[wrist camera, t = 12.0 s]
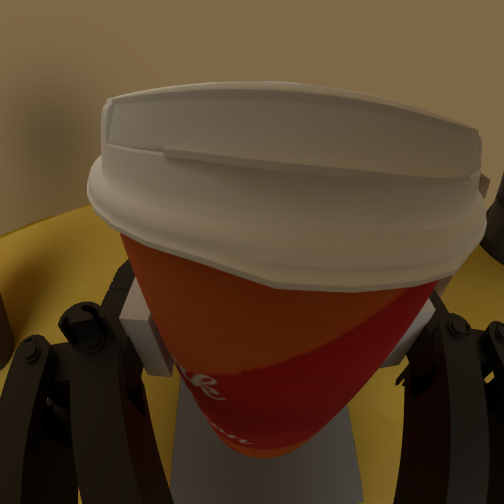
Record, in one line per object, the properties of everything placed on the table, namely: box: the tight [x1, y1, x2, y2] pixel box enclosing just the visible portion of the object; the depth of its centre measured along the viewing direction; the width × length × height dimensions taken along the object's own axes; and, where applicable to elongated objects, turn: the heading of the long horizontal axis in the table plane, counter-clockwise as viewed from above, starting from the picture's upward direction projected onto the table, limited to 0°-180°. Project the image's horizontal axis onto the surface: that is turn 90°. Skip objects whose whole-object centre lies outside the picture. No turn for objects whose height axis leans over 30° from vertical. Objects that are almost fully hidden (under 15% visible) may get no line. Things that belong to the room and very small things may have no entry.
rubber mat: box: [170, 377, 364, 504], centre depth 17 cm, size 13×13×1 cm
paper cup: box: [87, 81, 487, 458], centre depth 8 cm, size 8×8×14 cm
